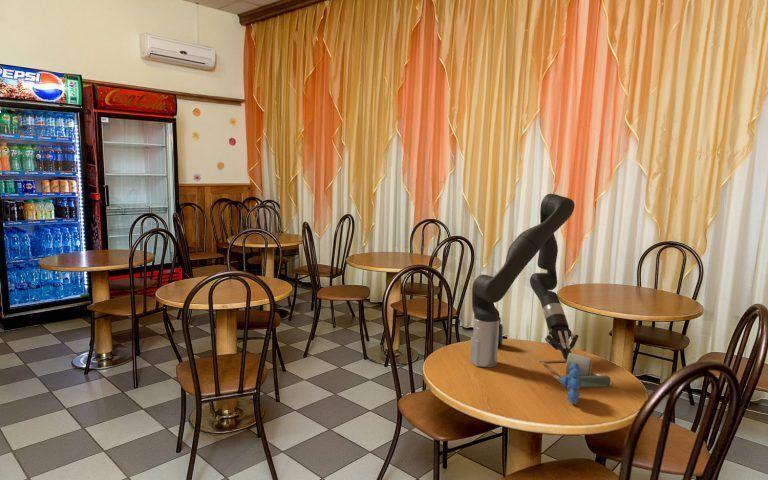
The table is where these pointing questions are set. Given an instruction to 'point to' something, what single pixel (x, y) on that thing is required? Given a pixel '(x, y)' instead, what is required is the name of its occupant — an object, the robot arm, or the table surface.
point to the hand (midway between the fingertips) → (568, 359)
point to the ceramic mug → (580, 364)
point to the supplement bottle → (500, 334)
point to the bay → (586, 380)
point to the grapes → (572, 382)
